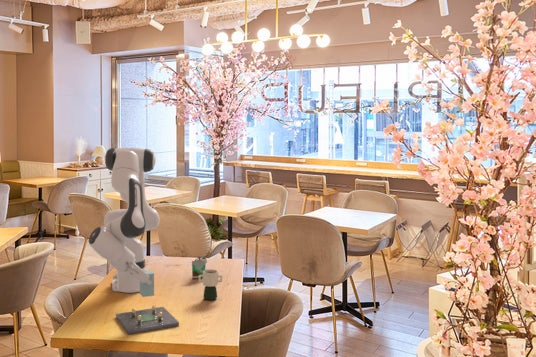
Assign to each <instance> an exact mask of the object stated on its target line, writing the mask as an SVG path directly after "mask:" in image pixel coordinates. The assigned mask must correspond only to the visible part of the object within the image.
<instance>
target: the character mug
mask: <svg viewBox="0 0 536 357" xmlns="http://www.w3.org/2000/svg"><path fill="white" fill-rule="evenodd" d="M201 277H203V278H202V279H201ZM219 278H220V279H219ZM198 282H199V283H202V285H203V286H205V287H204V290H203V298H204V299H205V300H210V301H212V300H215V299H217V298H218V292H217V287H216V286H218V284H219V283H222V282H223V274H219V270H218V269H214V268H213V269H211V268H210V269H205V270H204V271H203V275H199V279H198Z"/></svg>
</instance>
